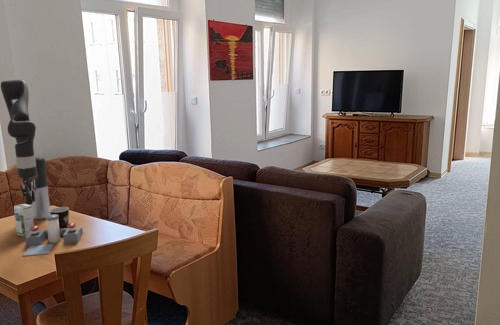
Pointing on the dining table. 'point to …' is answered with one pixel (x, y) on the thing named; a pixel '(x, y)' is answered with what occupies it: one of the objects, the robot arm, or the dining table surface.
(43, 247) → the mat
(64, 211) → the coffee mug
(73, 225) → the right plunger
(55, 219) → the cylinder
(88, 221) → the dining table surface
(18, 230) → the syrup box
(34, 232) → the left plunger
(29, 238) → the housing
